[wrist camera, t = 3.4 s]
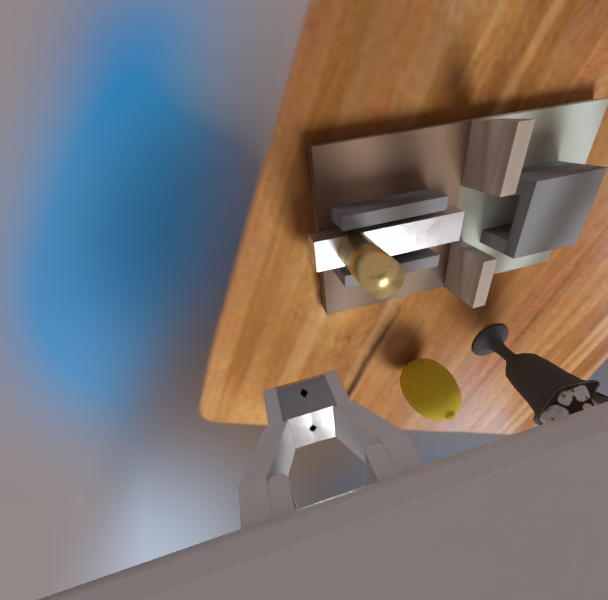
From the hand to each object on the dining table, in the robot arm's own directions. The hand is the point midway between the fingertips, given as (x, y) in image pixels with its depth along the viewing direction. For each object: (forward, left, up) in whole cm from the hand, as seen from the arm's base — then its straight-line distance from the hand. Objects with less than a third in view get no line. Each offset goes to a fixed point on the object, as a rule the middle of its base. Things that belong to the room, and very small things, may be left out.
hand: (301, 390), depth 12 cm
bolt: (-10, 0, -13) cm, 16 cm away
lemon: (-15, +18, -15) cm, 27 cm away
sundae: (-26, +18, -15) cm, 35 cm away
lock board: (-17, 0, -15) cm, 22 cm away
